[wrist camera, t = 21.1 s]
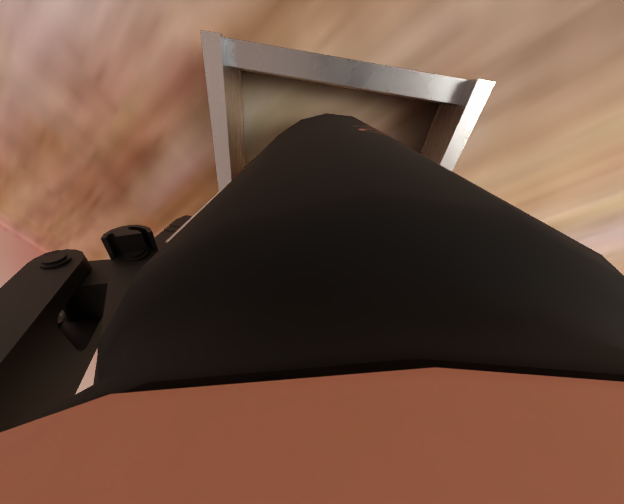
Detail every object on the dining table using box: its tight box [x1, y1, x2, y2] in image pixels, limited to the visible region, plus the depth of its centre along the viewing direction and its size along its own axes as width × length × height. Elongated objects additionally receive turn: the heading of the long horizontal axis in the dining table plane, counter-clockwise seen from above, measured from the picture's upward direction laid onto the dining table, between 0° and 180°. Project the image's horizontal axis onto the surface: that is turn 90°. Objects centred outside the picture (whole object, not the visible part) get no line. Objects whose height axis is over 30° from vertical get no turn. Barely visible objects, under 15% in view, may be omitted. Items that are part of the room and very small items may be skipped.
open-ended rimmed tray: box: [200, 30, 495, 191], centre depth 19 cm, size 20×16×4 cm
